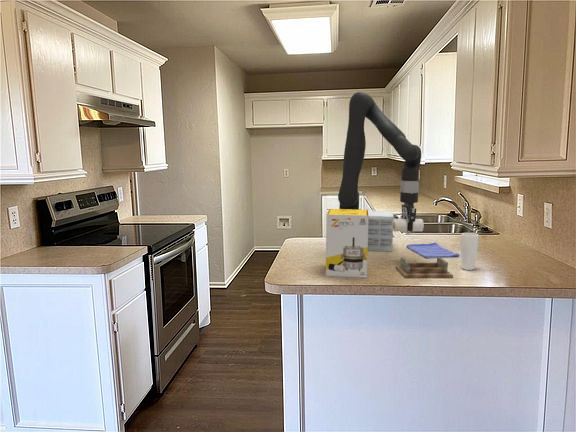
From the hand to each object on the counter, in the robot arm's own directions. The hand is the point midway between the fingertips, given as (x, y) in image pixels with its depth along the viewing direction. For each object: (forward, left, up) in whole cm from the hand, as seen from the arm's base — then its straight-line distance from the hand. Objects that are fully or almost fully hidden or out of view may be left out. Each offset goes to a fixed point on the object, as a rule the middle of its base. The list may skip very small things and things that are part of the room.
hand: (407, 229), depth 183 cm
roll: (0, 0, -1) cm, 1 cm away
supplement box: (-5, +32, -16) cm, 36 cm away
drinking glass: (+24, -8, -16) cm, 30 cm away
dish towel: (+19, +22, -16) cm, 33 cm away
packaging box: (-28, -11, -16) cm, 34 cm away
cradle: (+3, -14, -15) cm, 21 cm away
